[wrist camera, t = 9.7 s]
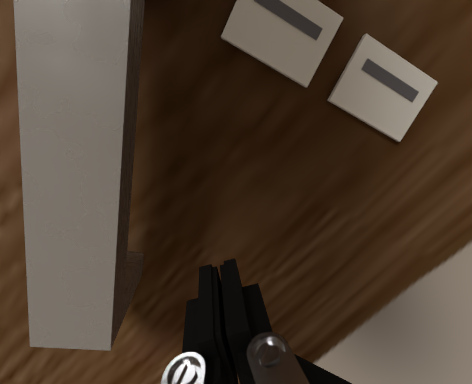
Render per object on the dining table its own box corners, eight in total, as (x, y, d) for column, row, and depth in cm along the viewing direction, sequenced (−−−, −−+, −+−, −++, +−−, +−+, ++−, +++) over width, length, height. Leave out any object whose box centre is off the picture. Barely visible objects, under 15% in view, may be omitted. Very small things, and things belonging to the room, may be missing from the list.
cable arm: (93, -40, 15) (-7, -174, 8) (172, -20, 15) (142, -128, 9) (86, 269, 20) (23, 349, 13) (144, 274, 21) (112, 353, 14)
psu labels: (220, 37, 18) (220, 35, 17) (254, -39, 17) (255, -44, 16) (396, 141, 21) (400, 142, 21) (433, 82, 20) (439, 82, 20)
